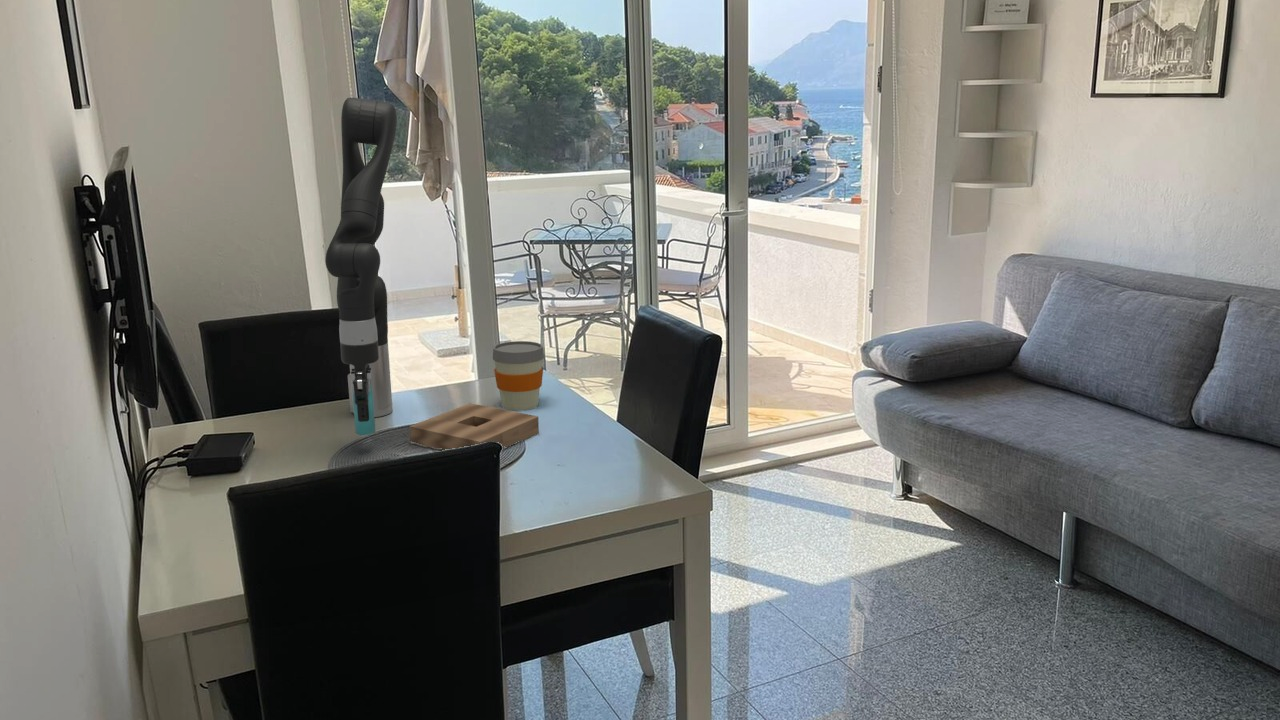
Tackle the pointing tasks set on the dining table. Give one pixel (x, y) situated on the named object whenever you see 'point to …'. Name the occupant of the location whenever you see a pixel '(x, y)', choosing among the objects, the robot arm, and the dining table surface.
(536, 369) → the reusable coffee cup
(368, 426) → the peg
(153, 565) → the dining table surface
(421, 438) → the socket block
